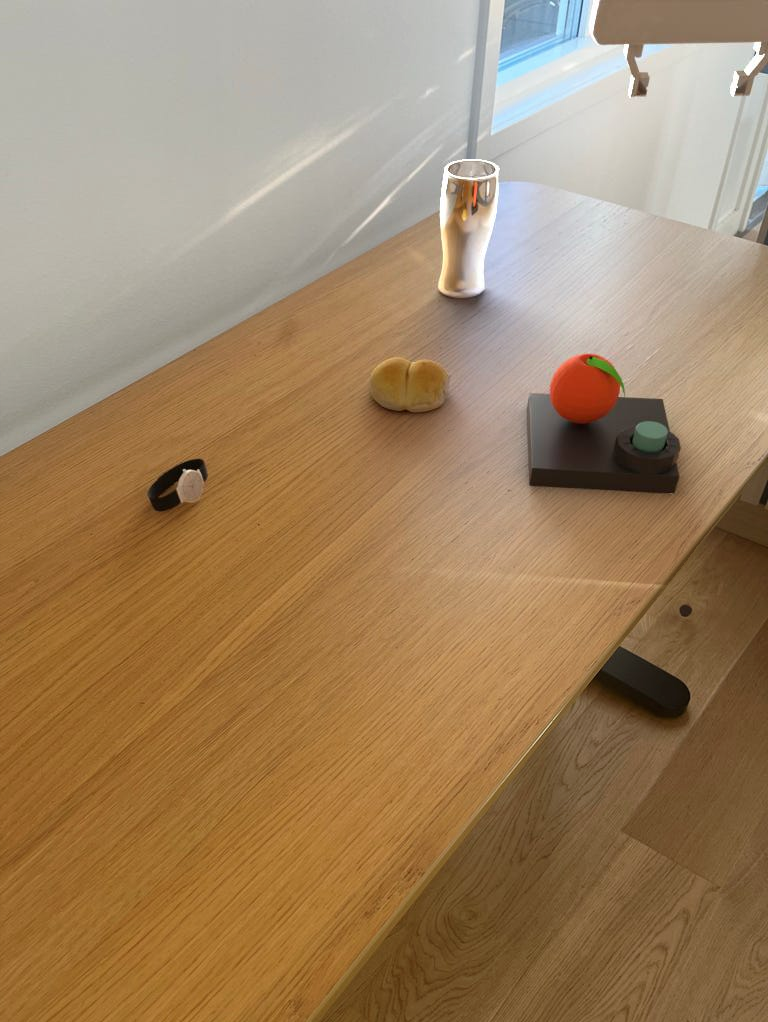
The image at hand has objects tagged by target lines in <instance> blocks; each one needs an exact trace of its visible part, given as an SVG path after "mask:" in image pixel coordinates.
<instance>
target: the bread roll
mask: <svg viewBox="0 0 768 1022" xmlns="http://www.w3.org/2000/svg"><path fill="white" fill-rule="evenodd" d="M450 381H451V375H450V374H449V373H448V372H447V370H446V369H445V368H444V367H443V366H442V365H440V364H439V363H438V362H436V361H433V360H432V359H428V358H423V359H418V360H416V361H413V362H412V361H410V360H408V359H406V358H404V357H399V356H394V357H389V358H388V359H385V360H383V361H382V362H380V363H379V364H377V366H375V368H374V369H373V370H372V372H371V374H370V376H369V378H368V390H369V394H370V396H371V397H372V399H373V400H374V401H375V402H376V403H377V404H379V405H380V406H381V407H383V408H385V409H387V410H391V411H396V412H402V411H405V410H407V411H408V412H411V413H424V412H429V411H432V410H436V409H437V408H439V407H441V406H442V405H443V404H444V403H445V400H446V399H447V398H448V397H447V396H448V393H449V388H450Z"/></svg>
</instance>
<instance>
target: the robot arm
mask: <svg viewBox="0 0 768 1022" xmlns="http://www.w3.org/2000/svg"><path fill="white" fill-rule="evenodd" d="M589 33H590V35H591V37H592V39H593V41H594V42H595V43H596V44H597V45H598V46H624V48H623V54H624V56H625V60H626V62H627V65H628V68H629V71H630V74H631V76H630V82H629V86H628V96H629V98H646V97H647V94H648V89H647V88H648V87H649V83H650V80H651V79H650V78H651V77H650V75H649V72H647V71H640V69H639V66H638V64H637V61H636V59H637V58H641V57H642V55H643V51H644V46H645V45H686V44H687V45H690V44H693V45H694V44H697V45H698V44H746V43H747V44H748V43H749V44H751V43H754V44H753V45H754V46H753V49H754V51H755V52H756V54H755V55H754V57H753V58H752V59H751V60H750V62H749V63H748V65H747V66H746V67H745V68H744V70H734V74H733V79H732V80H733V82H732V83H731V85H730V94H731V96H732V97H749V96H750V95H751V92H752V88H753V86H754V85H753V84H754V81H755V78H756V77H757V76H758V75H759V73H760V72H761V71H762V70H763V69H764V67H766V65H767V64H768V0H593V4H592V9H591V14H590V19H589Z"/></svg>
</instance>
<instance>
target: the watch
mask: <svg viewBox="0 0 768 1022" xmlns="http://www.w3.org/2000/svg"><path fill="white" fill-rule="evenodd" d="M208 477H209V474H208V469H207V466H206V462H205V460H204V459H202V458H192V459H189V460H186V461H183V462H181V463H179V464H177V465H175V466H173V467H172V468H170V469H168V470H167V471H165V472H163V474H161V475H159V477H158V478H157V479H156V480H155V481H154V482H153V483H152V484H151V485H150V487H149V488H148V490H147V496H148V499H149V502H150V504H151V507H152V509H153V510H154V511H155V512H166V511H169V510H172V509H174V508H175V507H177V506H179V505H180V504H181V505H182V504H183V503H188V504H192V503H196V502H197V501H198V500H199V499H200V498H201V496H202V495H203V492H204V491H203V490H204V485H205V482H206V481H207V480H208ZM176 483H177V487H176V488H175V489H174V490H173V491H171V492H169V493H167V494H166V495H163V494H164V493H165V492H166V491H167V490H169V489H170V488H172V487H173V486H174V485H175V484H176ZM162 495H163V496H162Z"/></svg>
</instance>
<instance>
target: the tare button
mask: <svg viewBox="0 0 768 1022" xmlns="http://www.w3.org/2000/svg"><path fill="white" fill-rule="evenodd" d="M667 434H668V430H667V428H666V427H665V426H664V425H662V424H660V423H657V422H651V421H646V422H642V423H639V424H638V425H637V426H636V429H635V433H634V436H633V440H632V444H633V446H634V447H635V448H636V449H639V450H642V451H645V452H659V451H661V450H662V449H663V448H664V445H665V441H666V438H667Z"/></svg>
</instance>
